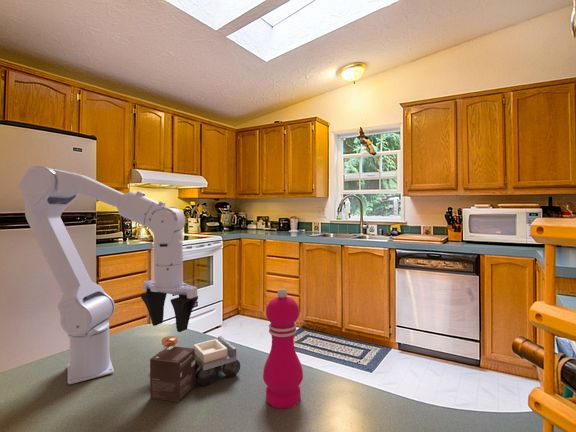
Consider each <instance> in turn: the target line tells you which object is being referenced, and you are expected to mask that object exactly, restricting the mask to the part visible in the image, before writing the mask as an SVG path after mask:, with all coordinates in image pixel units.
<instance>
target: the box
mask: <svg viewBox="0 0 576 432" xmlns="http://www.w3.org/2000/svg"><path fill="white" fill-rule="evenodd" d="M149 369H150V370H149V378H150V379H149V385H150V388H149V389H150V391H149V394H150V395H149V397H150V398H151V399H157V400H163V401H170V402H176V403H177V402H178V403H179V402H180V401H182V399H184V398H185V397H186V396H187V395H188V394H189V393H190V391H191V390H193V388H195V386H196V381H197V380H196V378H195V349H194V347H183V346H182V347H181V346H176V347H174V346H169V347H167V348H166V349H164V348H163V350H159V352H158V353H157V354H155V355H154V356H152V357H151V358H149Z"/></svg>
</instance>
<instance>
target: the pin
mask: <svg viewBox="0 0 576 432" xmlns="http://www.w3.org/2000/svg"><path fill="white" fill-rule="evenodd" d="M178 340H179V337H178V336H176V335H169V336H165V337H163V338H161V345H162V346H163V350H164V349H166V348H167V347H169V346H174V347H177V344H178V342H179V341H178Z"/></svg>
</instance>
